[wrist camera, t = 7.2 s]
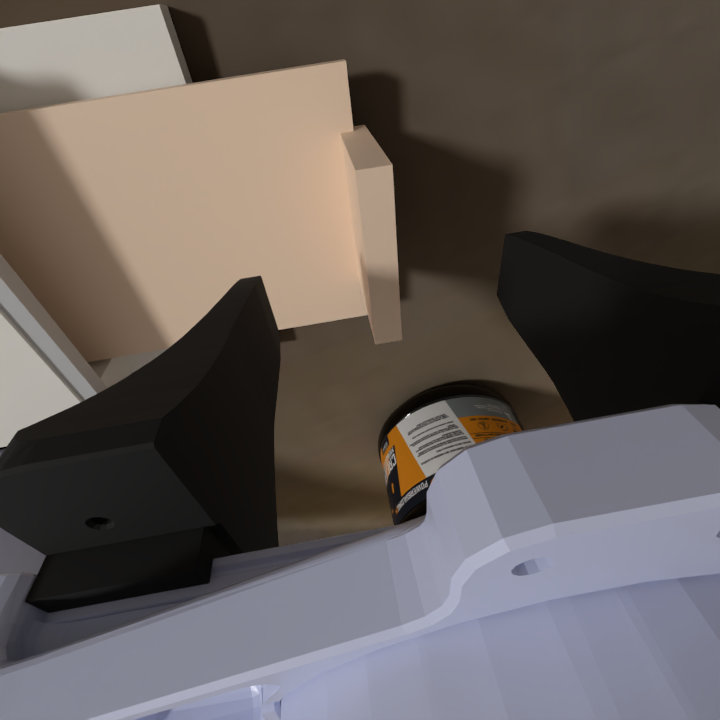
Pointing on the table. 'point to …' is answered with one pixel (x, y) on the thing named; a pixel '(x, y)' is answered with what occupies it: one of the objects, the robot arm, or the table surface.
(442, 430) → the supplement container
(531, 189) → the table surface
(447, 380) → the table surface
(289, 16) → the table surface
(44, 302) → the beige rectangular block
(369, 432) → the table surface
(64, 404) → the ticket dispenser
